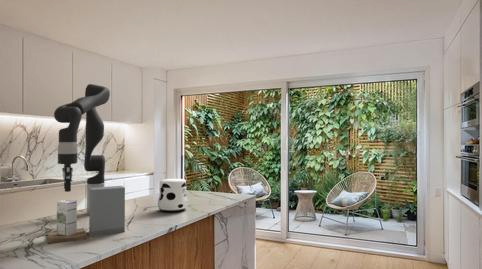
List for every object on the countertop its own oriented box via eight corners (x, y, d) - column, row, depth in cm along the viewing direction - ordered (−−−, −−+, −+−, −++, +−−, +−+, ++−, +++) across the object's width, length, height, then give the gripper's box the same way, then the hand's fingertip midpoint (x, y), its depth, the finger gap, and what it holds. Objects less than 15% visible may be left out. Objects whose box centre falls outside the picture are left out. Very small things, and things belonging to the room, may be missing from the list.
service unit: (89, 231, 150) (89, 187, 151) (121, 227, 158) (121, 185, 158) (91, 236, 143) (91, 190, 143) (124, 231, 150) (124, 187, 150)
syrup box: (77, 232, 144) (77, 199, 144) (65, 236, 138) (66, 201, 139) (67, 231, 146) (68, 198, 146) (55, 235, 140) (56, 201, 141)
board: (48, 235, 145) (48, 232, 145) (83, 230, 152) (83, 228, 152) (48, 243, 132) (48, 240, 132) (86, 238, 139) (86, 235, 139)
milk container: (193, 209, 199) (193, 179, 200) (173, 214, 185) (173, 182, 185) (172, 206, 208) (172, 178, 209) (151, 211, 194) (151, 180, 194)
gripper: (78, 153, 138) (78, 191, 138) (76, 151, 151) (75, 187, 150) (58, 153, 134) (57, 193, 134) (57, 152, 147) (57, 188, 147)
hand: (67, 190), depth 142 cm, fingers open, 8 cm apart
